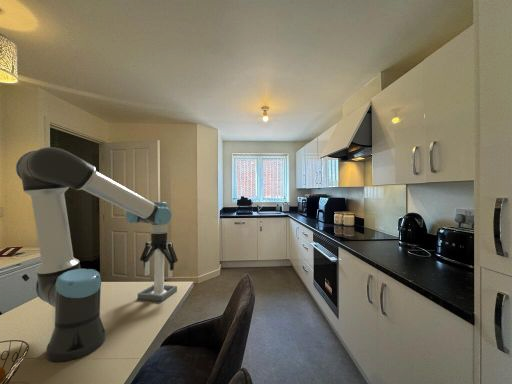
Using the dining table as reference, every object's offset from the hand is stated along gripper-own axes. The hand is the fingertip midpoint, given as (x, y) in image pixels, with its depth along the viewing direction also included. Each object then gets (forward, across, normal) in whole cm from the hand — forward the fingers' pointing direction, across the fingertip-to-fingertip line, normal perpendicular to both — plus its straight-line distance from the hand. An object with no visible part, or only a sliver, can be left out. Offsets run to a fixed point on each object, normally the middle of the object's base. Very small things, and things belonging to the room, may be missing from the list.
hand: (158, 275), depth 115 cm
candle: (+9, 0, 0) cm, 9 cm away
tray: (+9, 0, 0) cm, 9 cm away
